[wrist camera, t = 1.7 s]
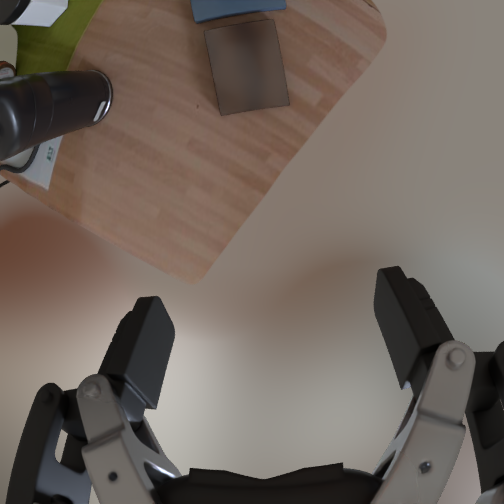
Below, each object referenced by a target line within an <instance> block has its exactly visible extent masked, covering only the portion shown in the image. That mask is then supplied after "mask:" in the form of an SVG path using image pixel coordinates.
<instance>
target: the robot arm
mask: <svg viewBox="0 0 504 504" xmlns="http://www.w3.org/2000/svg"><path fill="white" fill-rule="evenodd" d="M112 97H113V90H112V85H111V82H110V80H109V79H108V77H107V76H106V75H105V74H104V73H102V72H100V71H97V70H86V71H57V72H44V73H34V74H26V75H19V76H12V77H7V78H2V79H0V161H3V160H6V159H8V158H10V157H13V156H15V155H17V154H18V153H20V152H23V151H25V150H27V149H29V148H32V147H34V149H33V152H32V154H31V156H30V158H29V160H28V162H27V163H26V164H25V165H24V166H23V167H22V168H19V169H17V168H13V167H11V166H8V165H1V166H0V170H2V169H4V170H8V171H10V172H13V173H22V172H24V171H25V170H26V169H27V168H28V167H29V166H30V164H31V163H32V161H33V159H34V158H35V155H36V153H37V150H38V148H39V145H40V144H41V143H43V142H46V141H48V140H51V139H53V138H56V137H58V136H61V135H64V134H67V133H69V132H72V131H75V130H78V129H81V128H84V127H89V126H92V125H95V124H97V123H98V122H100V121H101V120H102V119H103V118H104V117H105V116H106V114H107V113H108V111H109V109H110V106H111V103H112ZM9 182H10V181H8V180H6V181H4V182H2V183H1V184H0V188H1V187H2V186H4V185H6V184H8V183H9ZM374 312H375V316H376V319H377V322H378V324H379V327H380V330H381V332H382V335H383V337H384V340H385V343H386V346H387V349H388V352H389V354H390V357H391V360H392V363H393V366H394V369H395V372H396V375H397V378H398V381H399V385H400V388H401V390H402V389H405V388H409V387H411V388H412V391H413V396H412V398H411V400H410V402H409V405H408V407H407V410H406V412H405V414H404V416H403V419H402V421H401V423H400V425H399V427H398V429H397V431H396V433H395V436H394V437H393V439H392V441H391V443H390V445H389V446H388V448H387V449H386V451H385V452H384V454H383V456H382V457H381V459H380V461H379V462H378V464H377V466H376V467H375V469H374V471H373V472H372V474H370V473H367V472H364V471H360V470H355V469H347V468H343V463H337V464H330V465H324V466H316V467H308V468H302V469H299V470H296V471H293V472H290V473H286V474H283V475H280V476H276V477H272V478H268V479H258V478H253V477H249V476H244V475H240V474H236V473H233V472H229V471H225V470H207V469H196V468H190V471H189V474H188V475H184V476H182V475H181V474H180V472H179V470H178V469H177V468H176V467H175V466H174V464H173V463H172V462H171V461H170V460H169V459H168V458H167V457H166V455H165V454H164V452H163V450H162V448H161V446H160V444H159V443H158V441H157V439H156V437H155V435H154V433H153V431H152V429H151V428H150V425H149V423H148V421H147V420H146V418H145V416H144V411H145V408H146V409H156V408H157V404H158V400H159V396H160V392H161V387H162V384H163V380H164V376H165V371H166V368H167V364H168V361H169V357H170V353H171V350H172V346H173V342H174V338H175V329H174V325H173V322H172V321H171V319H170V317H169V315H168V313H167V311H166V309H165V307H164V305H163V303H162V301H161V299H160V298H159V297H158V296H151V297H140V298H138V299H137V301H136V303H135V306H134V308H133V310H132V311H129V312H128V313H127V314H126V315H125V317H124V318H123V319H122V320H121V321H120V323H119V325H118V328H117V330H116V333H115V334H114V336H113V339H112V342H111V343H110V345H109V348H108V350H107V352H106V355H105V357H104V359H103V362H102V364H101V366H100V369H99V371H98V373H97V374H93V375H90V376H88V377H86V378H85V379H84V380H83V381H82V382H81V384H80V385H79V387H78V388H77V389H72V390H66V391H62V389H61V388H60V387H58V386H57V385H56V384H55V383H47V384H45V385H44V386H42V387H41V388H40V389H39V391H38V392H37V394H36V397H35V399H34V402H33V404H32V407H31V410H30V413H29V416H28V418H27V421H26V424H25V427H24V430H23V433H22V436H21V440H20V443H19V446H18V450H17V453H16V457H15V461H14V464H13V469H12V473H11V477H10V482H9V487H8V492H7V498H6V504H89V498H90V492H91V485H93V488H94V490H95V493H96V495H97V498H98V500H99V503H100V504H437V502H438V500H439V498H440V496H441V494H442V492H443V490H444V488H445V486H446V483H447V481H448V479H449V477H450V474H451V472H452V470H453V467H454V465H455V462H456V459H457V457H458V454H459V451H460V448H461V446H462V443H463V440H464V436H465V432H466V427H465V425H463V424H462V420H463V416H464V413H465V414H466V418H467V422H468V425H469V429H470V433H471V437H472V441H473V445H474V451H475V455H476V461H477V466H478V472H479V479H480V486H481V494H482V495H481V496H480V497H479V498H478V500H477V502H476V503H475V504H504V410H503V408H504V341H503V342H501V343H500V344H499V346H498V347H497V349H496V350H495V352H473V351H472V350H471V349H470V347H469V346H468V345H466V344H465V343H463V342H460V341H455V340H454V338H453V336H452V334H451V333H450V331H449V328H448V327H447V325H446V323H445V321H444V320H443V318H442V316H441V314H440V312H439V311H438V309H437V307H435V304H434V302H433V300H432V299H430V295H429V294H428V292H427V291H426V289H425V287H424V286H423V285H422V284H421V283H419V282H418V281H417V280H416V279H414V278H408V279H407V277H406V276H405V274H404V272H403V271H402V269H401V268H400V267H399V266H394V267H388V268H382V269H379V270H378V273H377V280H376V288H375V296H374ZM500 400H501V401H500ZM501 402H502V404H501ZM502 405H503V407H502ZM61 429H62V430H64V431H65V432H66V433H68V435H67V439H66V443H65V447H64V451H63V455H62V459H61V462H60V463H59V462H58V461H57V460H56V458H55V449H56V445H57V442H58V438H59V435H60V431H61Z"/></svg>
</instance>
